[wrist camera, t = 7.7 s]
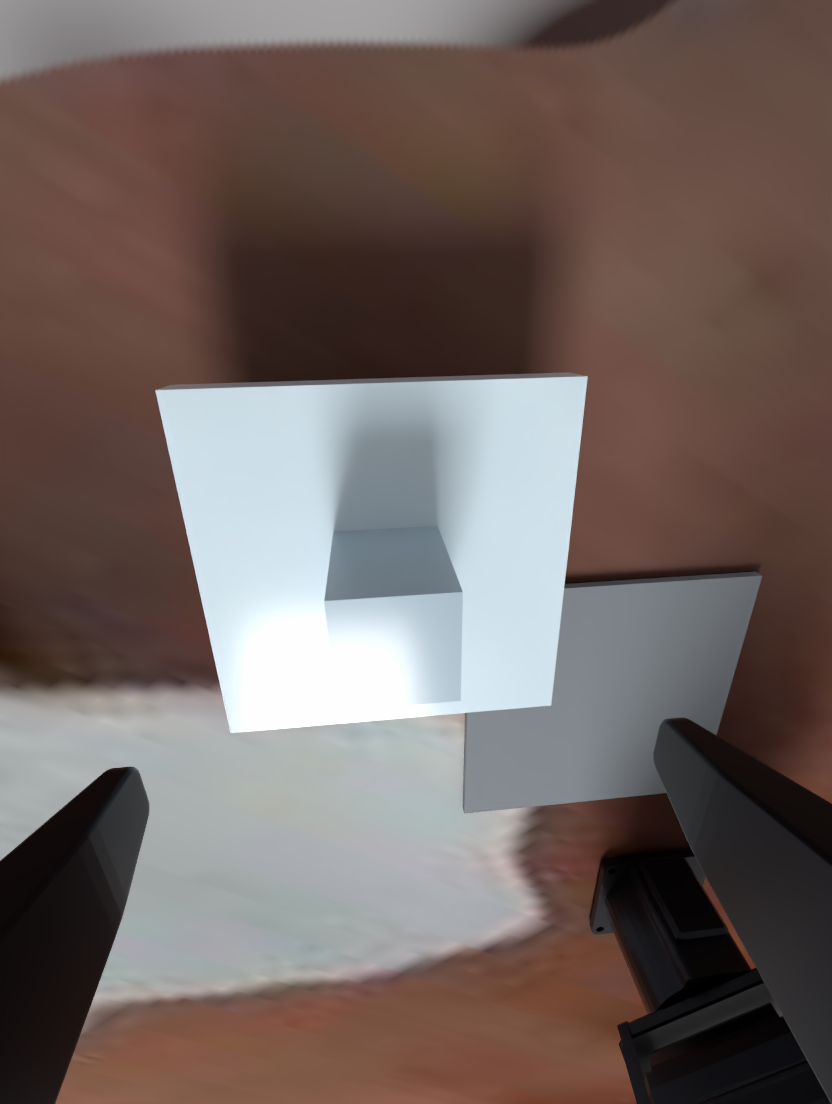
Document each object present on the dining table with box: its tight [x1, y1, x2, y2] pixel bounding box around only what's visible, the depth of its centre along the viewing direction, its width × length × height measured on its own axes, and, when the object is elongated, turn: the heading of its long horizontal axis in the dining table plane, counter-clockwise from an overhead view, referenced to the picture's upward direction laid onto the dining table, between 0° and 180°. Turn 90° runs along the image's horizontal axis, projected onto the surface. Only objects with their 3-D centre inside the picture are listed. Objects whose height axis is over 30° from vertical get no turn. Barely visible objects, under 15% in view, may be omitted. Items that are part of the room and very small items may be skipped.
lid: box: [156, 372, 588, 733], centre depth 14 cm, size 11×11×5 cm
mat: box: [463, 572, 762, 813], centre depth 25 cm, size 13×13×1 cm
